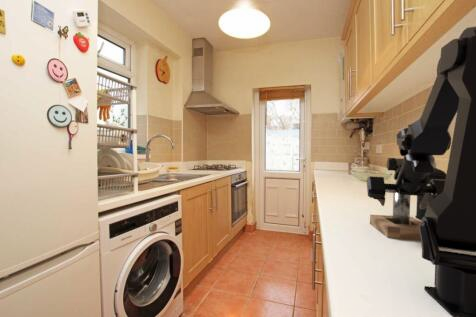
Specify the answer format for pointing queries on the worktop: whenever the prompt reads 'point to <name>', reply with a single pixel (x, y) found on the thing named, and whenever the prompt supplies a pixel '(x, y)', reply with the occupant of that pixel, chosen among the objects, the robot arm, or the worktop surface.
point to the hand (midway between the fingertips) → (400, 206)
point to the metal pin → (401, 209)
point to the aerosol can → (421, 212)
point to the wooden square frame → (396, 227)
